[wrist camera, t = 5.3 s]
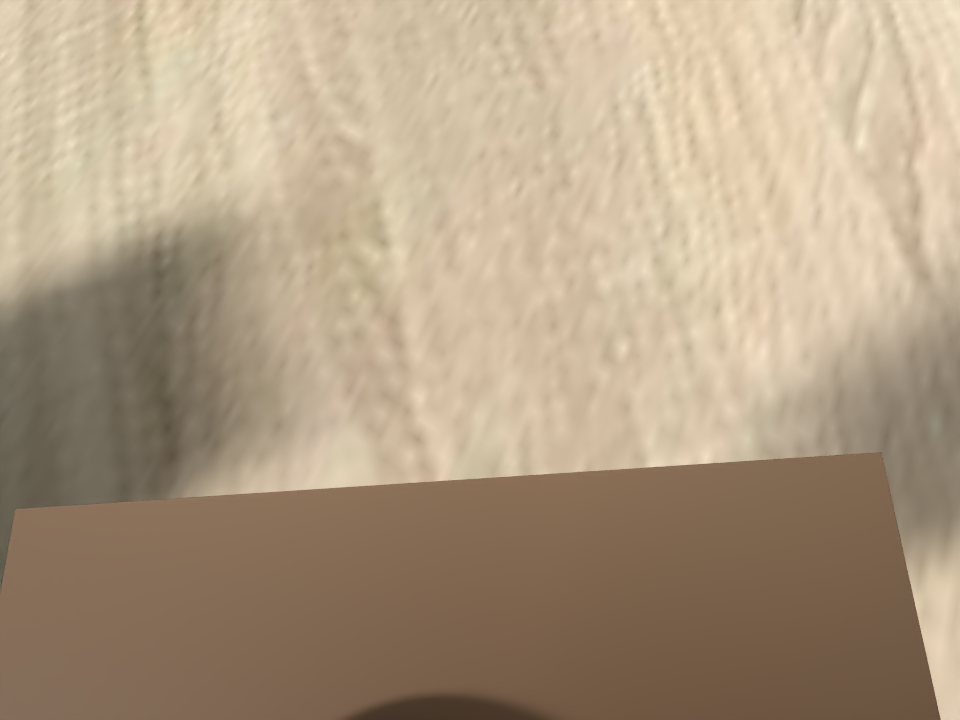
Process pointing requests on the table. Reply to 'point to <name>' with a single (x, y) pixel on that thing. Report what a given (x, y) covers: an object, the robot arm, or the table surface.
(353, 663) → the bored block
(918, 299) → the table surface
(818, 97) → the table surface
